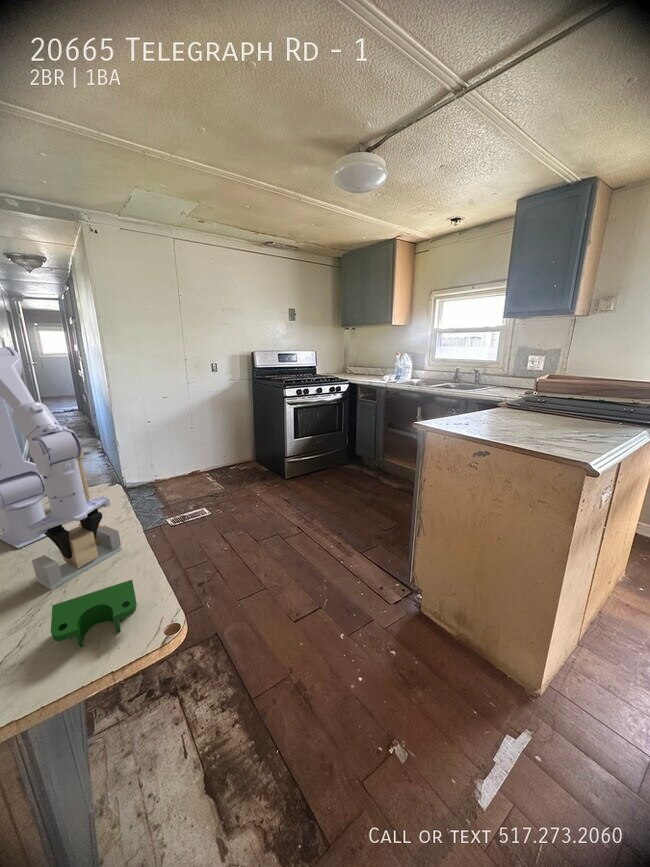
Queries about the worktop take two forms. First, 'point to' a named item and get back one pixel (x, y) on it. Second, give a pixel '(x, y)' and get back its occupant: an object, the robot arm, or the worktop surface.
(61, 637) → the clamp
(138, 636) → the worktop surface
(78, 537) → the block
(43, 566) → the vise
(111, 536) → the free jaw
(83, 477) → the handle
